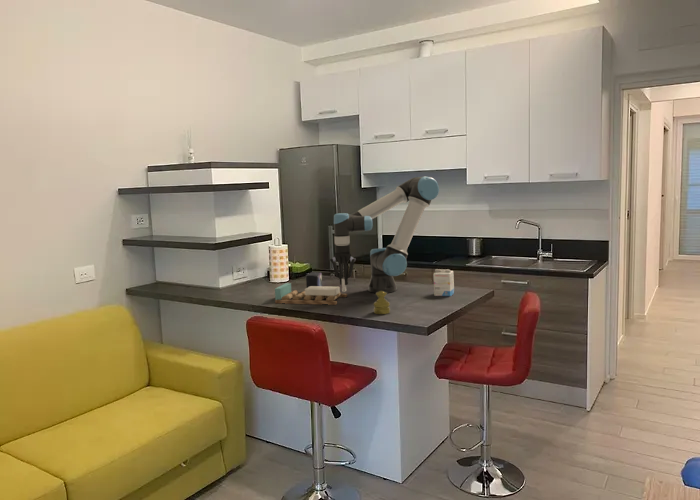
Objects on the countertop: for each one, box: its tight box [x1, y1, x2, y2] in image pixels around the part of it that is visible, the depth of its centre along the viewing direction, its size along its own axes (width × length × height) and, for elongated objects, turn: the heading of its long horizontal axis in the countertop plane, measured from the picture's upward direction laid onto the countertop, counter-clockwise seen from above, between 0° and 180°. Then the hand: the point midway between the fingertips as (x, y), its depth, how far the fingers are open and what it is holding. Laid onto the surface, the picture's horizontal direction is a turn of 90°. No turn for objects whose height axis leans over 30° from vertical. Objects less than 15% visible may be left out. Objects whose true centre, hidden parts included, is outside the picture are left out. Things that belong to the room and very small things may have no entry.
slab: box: [304, 285, 341, 296], centre depth 281 cm, size 16×8×3 cm, turn 73°
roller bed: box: [274, 289, 348, 306], centre depth 283 cm, size 32×19×3 cm, turn 73°
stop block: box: [274, 282, 292, 300], centre depth 287 cm, size 3×14×7 cm, turn 163°
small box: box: [305, 271, 323, 288], centre depth 301 cm, size 11×6×10 cm, turn 168°
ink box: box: [432, 268, 455, 297], centre depth 282 cm, size 9×8×13 cm
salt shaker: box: [372, 291, 391, 315], centre depth 250 cm, size 7×7×10 cm
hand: (344, 291), depth 277 cm, fingers closed
